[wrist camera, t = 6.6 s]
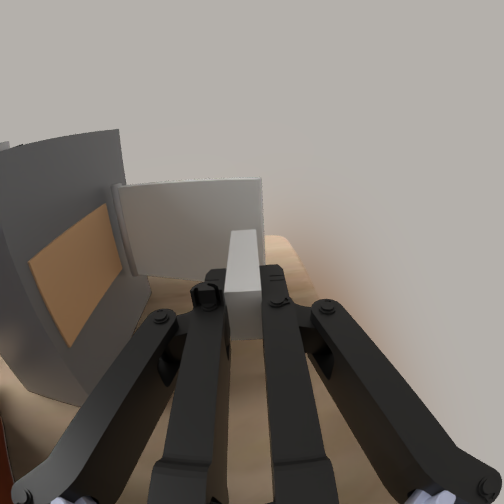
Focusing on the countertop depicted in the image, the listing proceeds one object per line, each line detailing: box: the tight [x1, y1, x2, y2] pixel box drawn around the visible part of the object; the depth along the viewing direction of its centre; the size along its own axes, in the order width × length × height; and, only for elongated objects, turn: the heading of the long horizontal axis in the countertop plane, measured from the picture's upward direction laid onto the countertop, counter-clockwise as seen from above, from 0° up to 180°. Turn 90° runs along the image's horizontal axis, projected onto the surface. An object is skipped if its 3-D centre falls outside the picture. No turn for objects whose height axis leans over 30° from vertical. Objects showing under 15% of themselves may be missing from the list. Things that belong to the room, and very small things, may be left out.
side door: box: [110, 177, 266, 282], centre depth 20 cm, size 12×1×8 cm, turn 77°
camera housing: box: [0, 129, 152, 407], centre depth 19 cm, size 18×9×19 cm, turn 2°
